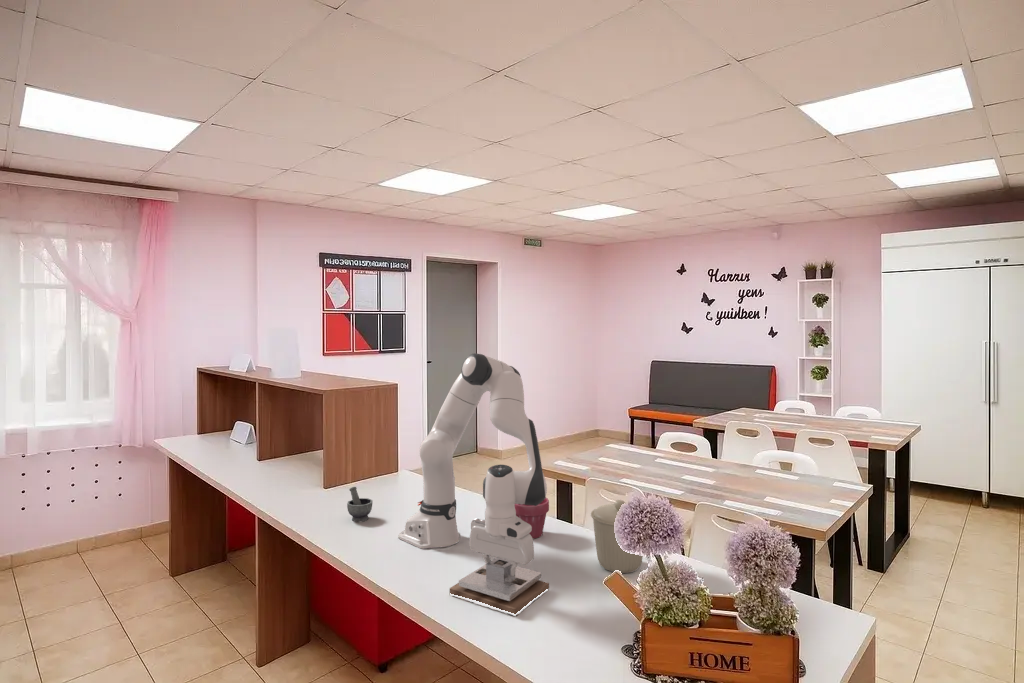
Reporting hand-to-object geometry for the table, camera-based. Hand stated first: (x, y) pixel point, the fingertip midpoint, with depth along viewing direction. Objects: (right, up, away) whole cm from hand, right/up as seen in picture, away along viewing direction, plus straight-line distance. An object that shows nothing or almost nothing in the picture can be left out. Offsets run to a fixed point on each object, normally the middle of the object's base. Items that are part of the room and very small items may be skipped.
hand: (500, 571), depth 162 cm
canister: (+37, -6, +17) cm, 41 cm away
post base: (0, -6, 0) cm, 6 cm away
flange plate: (0, -3, 0) cm, 3 cm away
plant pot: (+10, -5, +45) cm, 46 cm away
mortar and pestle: (-57, -4, +62) cm, 84 cm away
